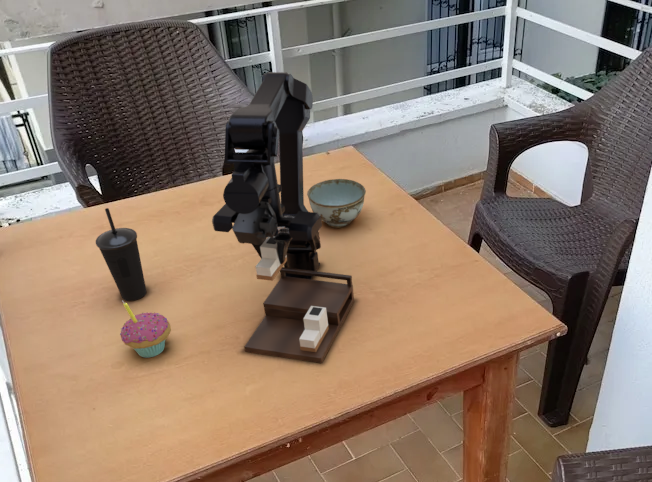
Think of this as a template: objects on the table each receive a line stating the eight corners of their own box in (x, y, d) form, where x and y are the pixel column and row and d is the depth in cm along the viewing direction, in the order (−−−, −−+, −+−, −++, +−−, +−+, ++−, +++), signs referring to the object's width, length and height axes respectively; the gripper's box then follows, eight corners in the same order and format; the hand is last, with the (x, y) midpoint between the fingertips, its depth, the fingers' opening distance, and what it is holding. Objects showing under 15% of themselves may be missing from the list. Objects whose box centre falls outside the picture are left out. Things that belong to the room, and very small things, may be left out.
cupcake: (131, 370, 123) (112, 317, 116) (124, 343, 130) (105, 291, 122) (179, 354, 127) (164, 302, 119) (170, 329, 133) (155, 278, 126)
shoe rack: (245, 351, 127) (239, 324, 123) (285, 292, 142) (280, 266, 138) (321, 363, 124) (318, 335, 120) (354, 301, 139) (351, 275, 135)
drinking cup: (161, 288, 144) (136, 203, 132) (135, 308, 138) (106, 222, 126) (133, 280, 146) (106, 196, 135) (106, 299, 141) (76, 214, 129)
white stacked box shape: (313, 326, 131) (310, 305, 128) (328, 328, 130) (326, 307, 127) (300, 350, 125) (296, 328, 122) (315, 352, 125) (312, 330, 122)
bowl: (298, 226, 163) (294, 196, 159) (333, 202, 172) (330, 173, 168) (345, 241, 157) (342, 211, 153) (378, 216, 167) (376, 186, 162)
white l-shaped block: (272, 258, 130) (268, 235, 127) (287, 260, 129) (283, 237, 126) (257, 278, 124) (252, 255, 121) (272, 280, 124) (268, 257, 121)
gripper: (188, 202, 113) (207, 280, 123) (294, 212, 110) (305, 292, 119) (219, 173, 122) (234, 248, 131) (318, 182, 119) (327, 258, 128)
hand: (273, 261), depth 127 cm, fingers closed on white l-shaped block, 3 cm apart
